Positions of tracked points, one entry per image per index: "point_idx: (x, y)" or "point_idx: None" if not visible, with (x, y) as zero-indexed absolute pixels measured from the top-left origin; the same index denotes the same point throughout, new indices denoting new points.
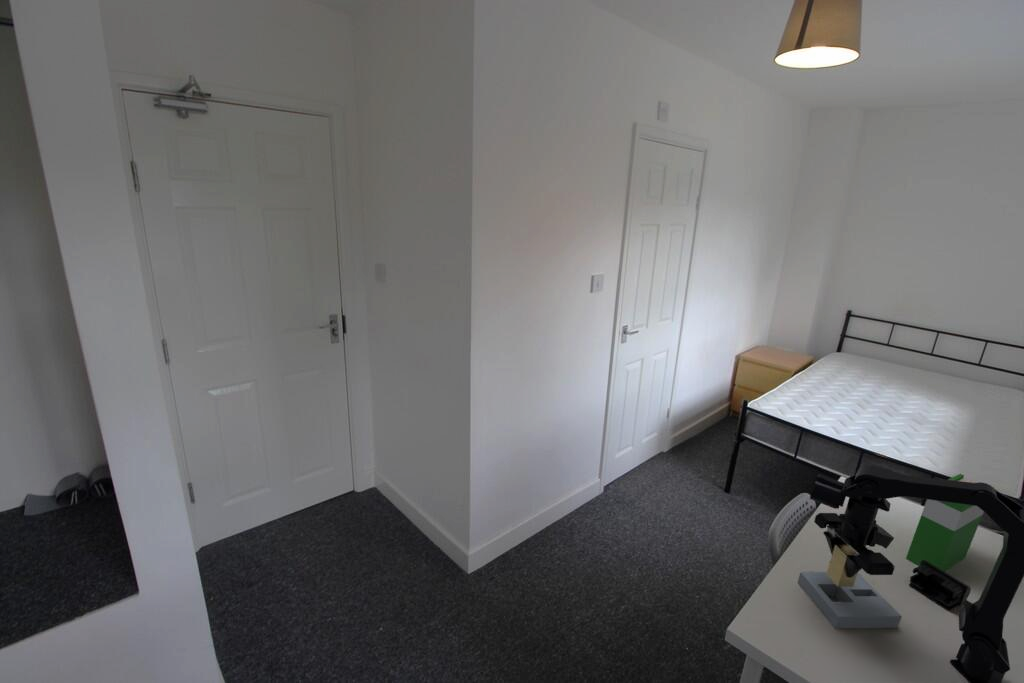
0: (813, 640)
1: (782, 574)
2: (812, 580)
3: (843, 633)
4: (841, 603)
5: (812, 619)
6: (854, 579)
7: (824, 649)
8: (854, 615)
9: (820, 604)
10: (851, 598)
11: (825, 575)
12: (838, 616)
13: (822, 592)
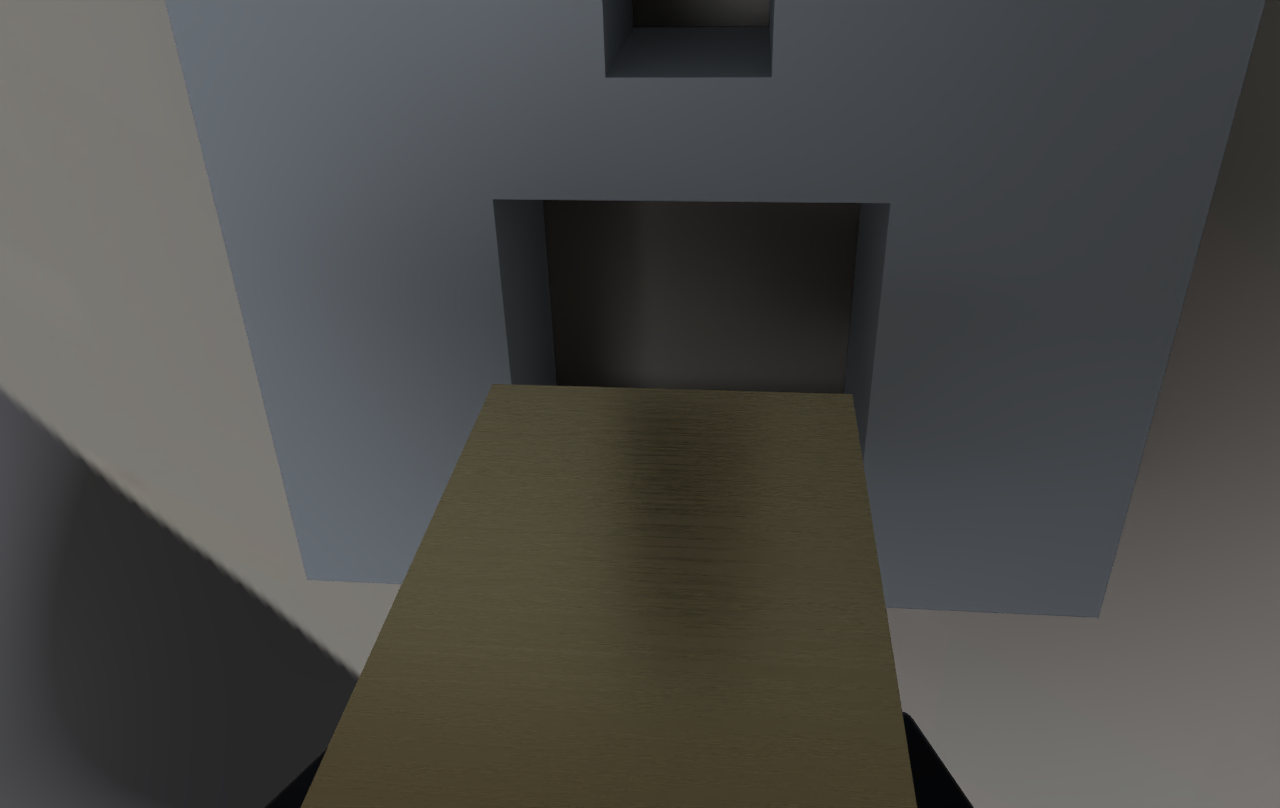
0: (1127, 762)
1: (265, 551)
2: None
3: None
4: (895, 430)
5: (898, 631)
6: (866, 531)
7: (1241, 738)
8: (1132, 398)
9: None
10: (813, 194)
11: (313, 277)
12: (1095, 616)
13: None
